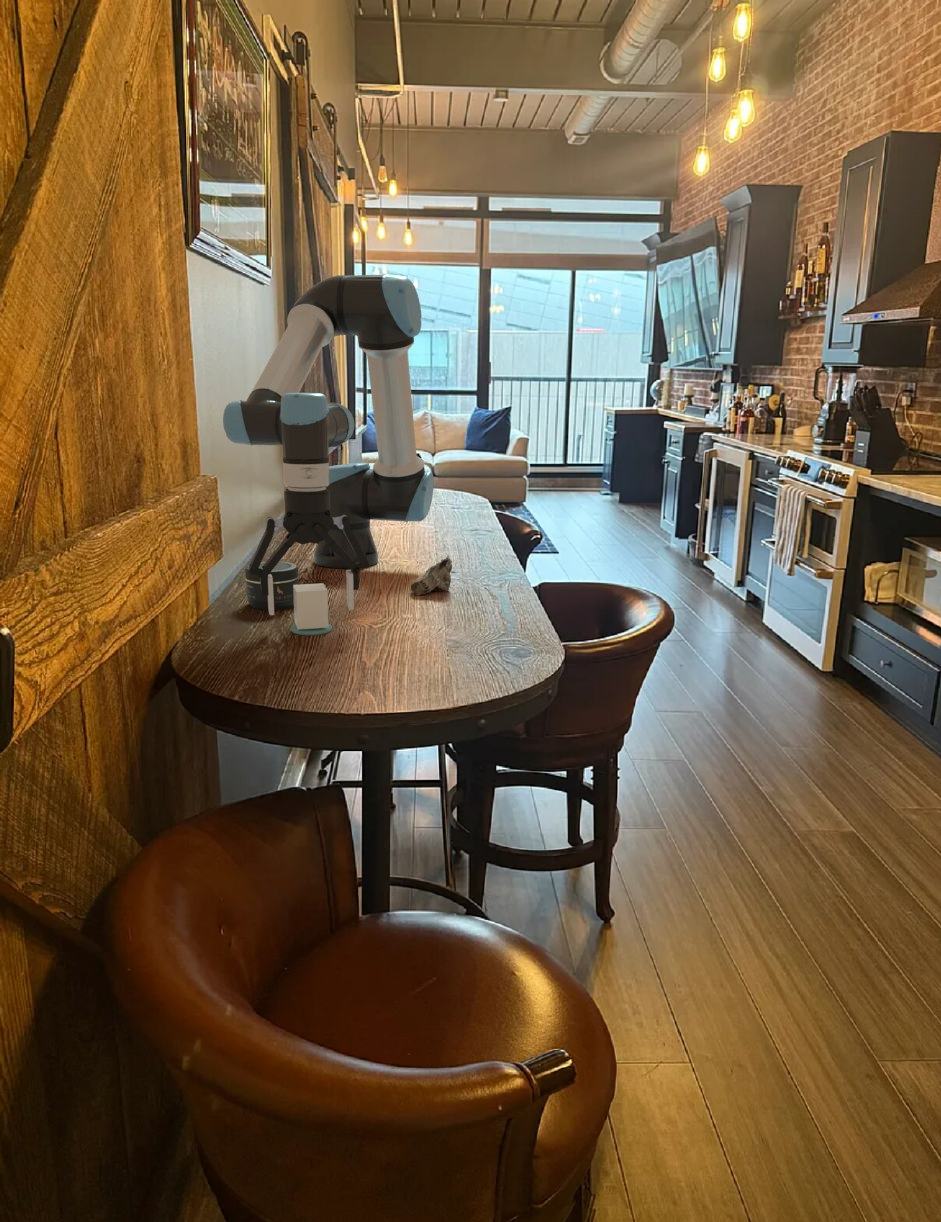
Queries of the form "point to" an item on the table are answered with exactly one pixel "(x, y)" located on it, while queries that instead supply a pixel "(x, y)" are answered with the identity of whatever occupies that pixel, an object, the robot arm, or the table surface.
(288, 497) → the robot arm
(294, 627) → the teal post on base
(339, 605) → the table surface
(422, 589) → the rock
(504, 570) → the table surface
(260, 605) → the jar
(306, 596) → the white rectangular block
